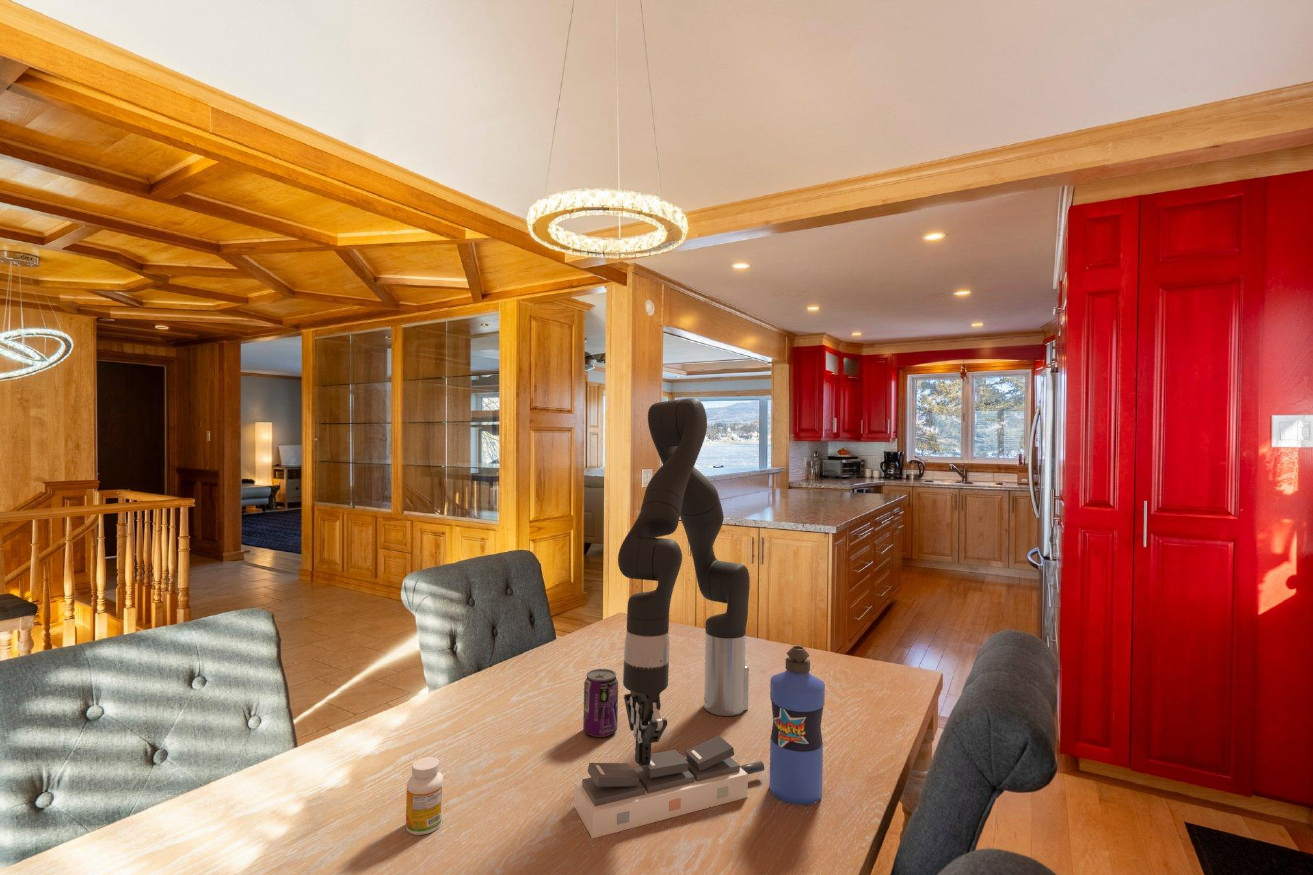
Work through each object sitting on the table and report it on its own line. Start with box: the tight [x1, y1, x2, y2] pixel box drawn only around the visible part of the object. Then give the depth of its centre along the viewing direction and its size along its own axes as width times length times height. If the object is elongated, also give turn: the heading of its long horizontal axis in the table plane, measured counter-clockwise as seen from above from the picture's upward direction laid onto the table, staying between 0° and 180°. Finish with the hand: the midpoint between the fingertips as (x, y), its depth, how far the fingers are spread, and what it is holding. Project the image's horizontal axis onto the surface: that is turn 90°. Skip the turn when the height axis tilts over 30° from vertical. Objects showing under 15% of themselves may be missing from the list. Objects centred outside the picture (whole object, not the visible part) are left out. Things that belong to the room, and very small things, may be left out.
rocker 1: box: [587, 762, 639, 787], centre depth 101 cm, size 7×5×2 cm
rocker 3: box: [684, 735, 735, 771], centre depth 109 cm, size 7×5×2 cm
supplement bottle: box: [405, 756, 444, 836], centre depth 98 cm, size 5×5×10 cm
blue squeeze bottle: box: [768, 645, 826, 806], centre depth 109 cm, size 9×9×25 cm
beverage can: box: [582, 668, 619, 738], centre depth 130 cm, size 7×7×12 cm
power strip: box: [574, 755, 765, 839], centre depth 106 cm, size 34×9×5 cm, turn 115°
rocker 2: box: [639, 749, 688, 778], centre depth 105 cm, size 7×5×2 cm
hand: (642, 762), depth 103 cm, fingers closed
